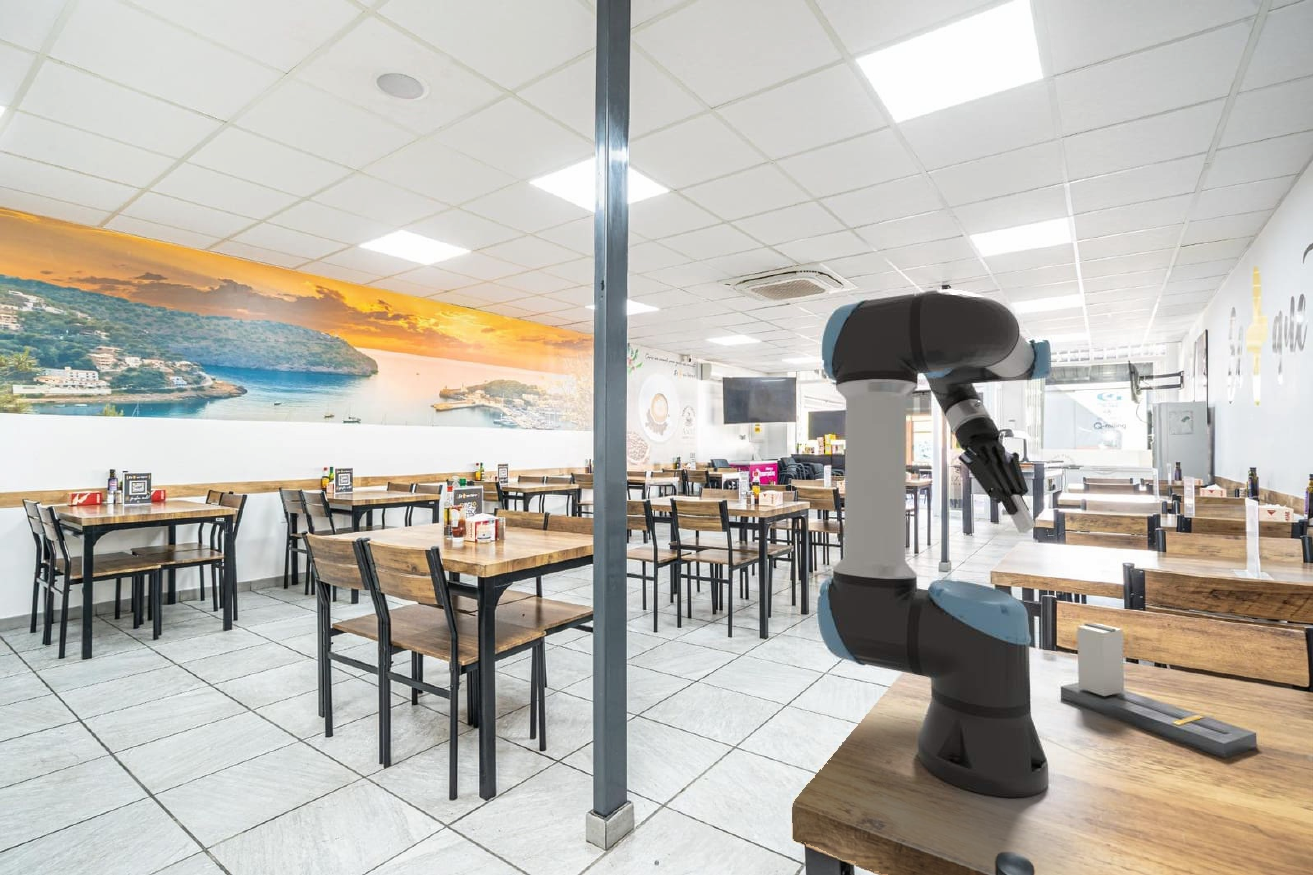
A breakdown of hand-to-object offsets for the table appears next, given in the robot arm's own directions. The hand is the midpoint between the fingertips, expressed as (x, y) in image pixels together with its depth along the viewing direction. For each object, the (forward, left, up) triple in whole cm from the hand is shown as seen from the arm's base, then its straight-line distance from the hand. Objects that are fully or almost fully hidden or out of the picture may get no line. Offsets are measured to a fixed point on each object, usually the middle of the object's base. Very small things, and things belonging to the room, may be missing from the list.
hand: (1027, 529), depth 112 cm
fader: (+6, -10, -25) cm, 28 cm away
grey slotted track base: (+10, -16, -27) cm, 33 cm away
